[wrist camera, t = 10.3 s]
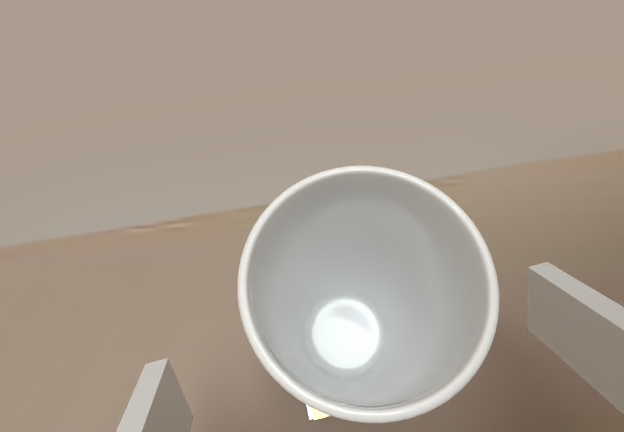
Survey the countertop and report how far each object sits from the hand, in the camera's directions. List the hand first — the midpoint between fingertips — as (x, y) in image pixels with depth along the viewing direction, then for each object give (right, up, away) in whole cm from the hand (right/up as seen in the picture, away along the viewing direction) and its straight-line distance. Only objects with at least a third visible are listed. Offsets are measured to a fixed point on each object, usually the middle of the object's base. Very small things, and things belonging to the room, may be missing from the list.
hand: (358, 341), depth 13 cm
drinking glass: (0, -3, +10) cm, 10 cm away
